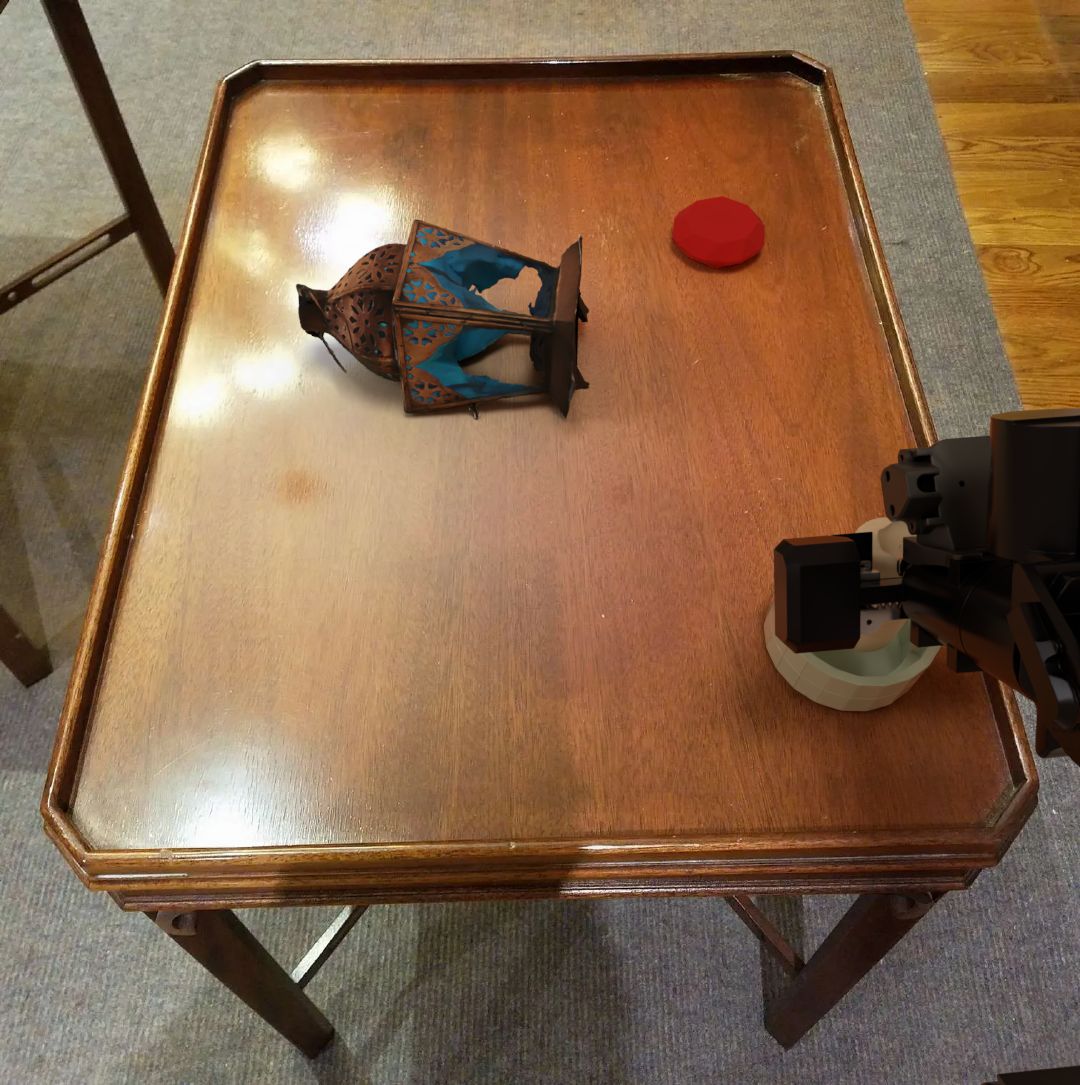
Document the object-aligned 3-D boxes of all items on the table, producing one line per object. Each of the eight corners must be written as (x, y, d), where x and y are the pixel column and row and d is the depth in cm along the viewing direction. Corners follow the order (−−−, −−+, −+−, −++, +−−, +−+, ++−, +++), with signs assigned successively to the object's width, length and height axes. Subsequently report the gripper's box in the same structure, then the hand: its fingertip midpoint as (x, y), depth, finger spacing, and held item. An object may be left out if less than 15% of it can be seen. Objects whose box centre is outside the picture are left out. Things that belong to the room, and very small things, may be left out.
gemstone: (713, 287, 88) (718, 263, 86) (653, 238, 92) (656, 213, 90) (780, 249, 91) (786, 224, 89) (718, 203, 95) (723, 178, 92)
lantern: (580, 411, 88) (321, 394, 88) (594, 234, 84) (320, 215, 83) (588, 442, 73) (273, 422, 72) (606, 227, 68) (269, 204, 68)
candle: (888, 665, 62) (940, 591, 54) (808, 636, 64) (848, 560, 55) (904, 600, 65) (957, 521, 57) (828, 573, 66) (868, 492, 58)
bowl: (932, 715, 65) (959, 687, 61) (771, 711, 65) (786, 683, 61) (903, 577, 71) (925, 542, 67) (755, 573, 71) (769, 539, 67)
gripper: (1216, 440, 43) (1024, 416, 58) (826, 470, 42) (736, 438, 57) (1197, 664, 45) (1017, 585, 61) (827, 697, 45) (740, 609, 60)
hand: (880, 551), depth 60 cm, fingers closed on candle, 5 cm apart
